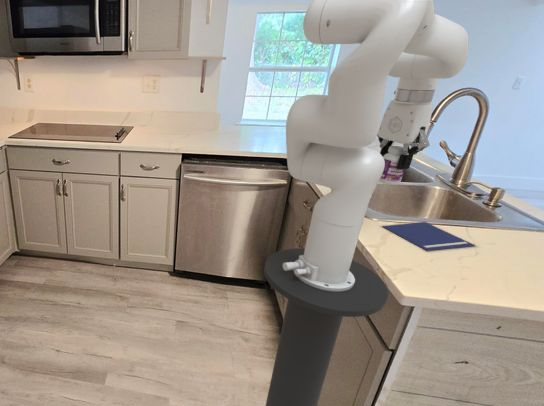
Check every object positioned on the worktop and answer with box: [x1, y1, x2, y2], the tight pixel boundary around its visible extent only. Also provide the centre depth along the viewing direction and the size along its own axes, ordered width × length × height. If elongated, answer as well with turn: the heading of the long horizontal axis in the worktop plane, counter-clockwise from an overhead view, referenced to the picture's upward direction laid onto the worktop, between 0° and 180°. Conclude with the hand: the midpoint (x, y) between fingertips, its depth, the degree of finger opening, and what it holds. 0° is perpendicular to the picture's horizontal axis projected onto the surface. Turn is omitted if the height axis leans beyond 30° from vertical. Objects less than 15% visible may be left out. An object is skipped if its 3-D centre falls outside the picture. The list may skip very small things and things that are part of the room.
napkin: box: [382, 221, 476, 252], centre depth 101 cm, size 14×14×1 cm
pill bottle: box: [378, 145, 406, 185], centre depth 99 cm, size 5×5×10 cm
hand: (393, 164), depth 99 cm, fingers closed on pill bottle, 5 cm apart
